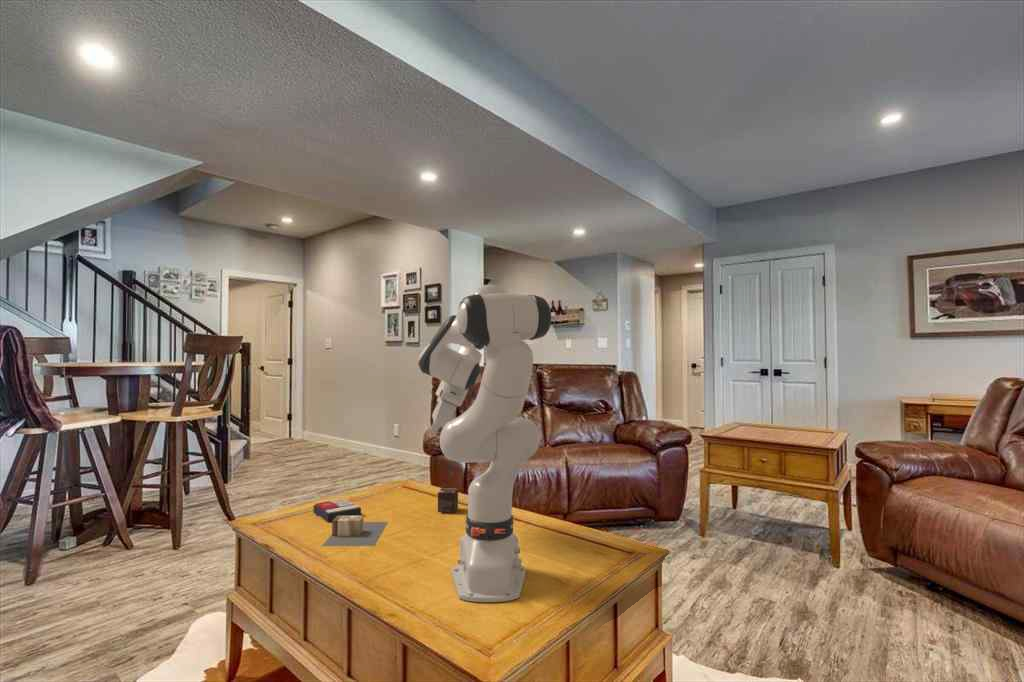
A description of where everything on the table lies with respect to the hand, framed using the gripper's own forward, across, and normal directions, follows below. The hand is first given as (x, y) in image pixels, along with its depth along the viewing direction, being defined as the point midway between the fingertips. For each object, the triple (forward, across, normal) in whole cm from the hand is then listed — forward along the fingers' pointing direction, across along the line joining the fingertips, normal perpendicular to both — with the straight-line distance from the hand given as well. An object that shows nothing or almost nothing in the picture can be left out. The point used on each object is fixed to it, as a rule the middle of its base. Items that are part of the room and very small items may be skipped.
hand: (431, 435), depth 157 cm
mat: (+36, 0, -7) cm, 36 cm away
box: (+24, -19, +19) cm, 36 cm away
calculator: (+40, -20, -15) cm, 47 cm away
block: (+33, 0, -7) cm, 33 cm away
